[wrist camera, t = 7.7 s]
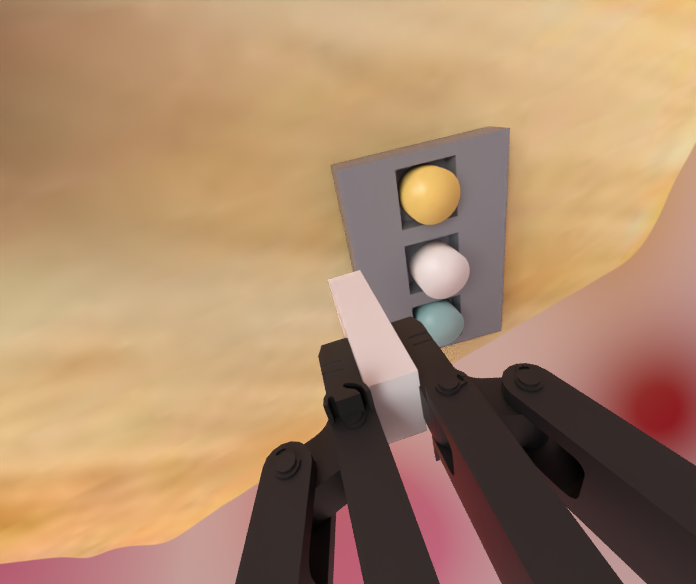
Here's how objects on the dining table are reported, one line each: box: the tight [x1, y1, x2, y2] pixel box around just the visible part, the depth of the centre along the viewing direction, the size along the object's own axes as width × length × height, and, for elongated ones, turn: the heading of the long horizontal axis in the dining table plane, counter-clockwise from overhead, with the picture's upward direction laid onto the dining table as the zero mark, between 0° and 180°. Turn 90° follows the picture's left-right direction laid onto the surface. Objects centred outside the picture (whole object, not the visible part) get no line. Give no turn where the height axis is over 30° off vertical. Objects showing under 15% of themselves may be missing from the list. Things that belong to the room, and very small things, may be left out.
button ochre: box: [397, 163, 460, 225], centre depth 27 cm, size 4×4×3 cm
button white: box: [409, 241, 470, 299], centre depth 30 cm, size 4×4×3 cm
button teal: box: [412, 299, 464, 347], centre depth 34 cm, size 4×4×3 cm
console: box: [331, 127, 510, 348], centre depth 32 cm, size 20×14×3 cm
